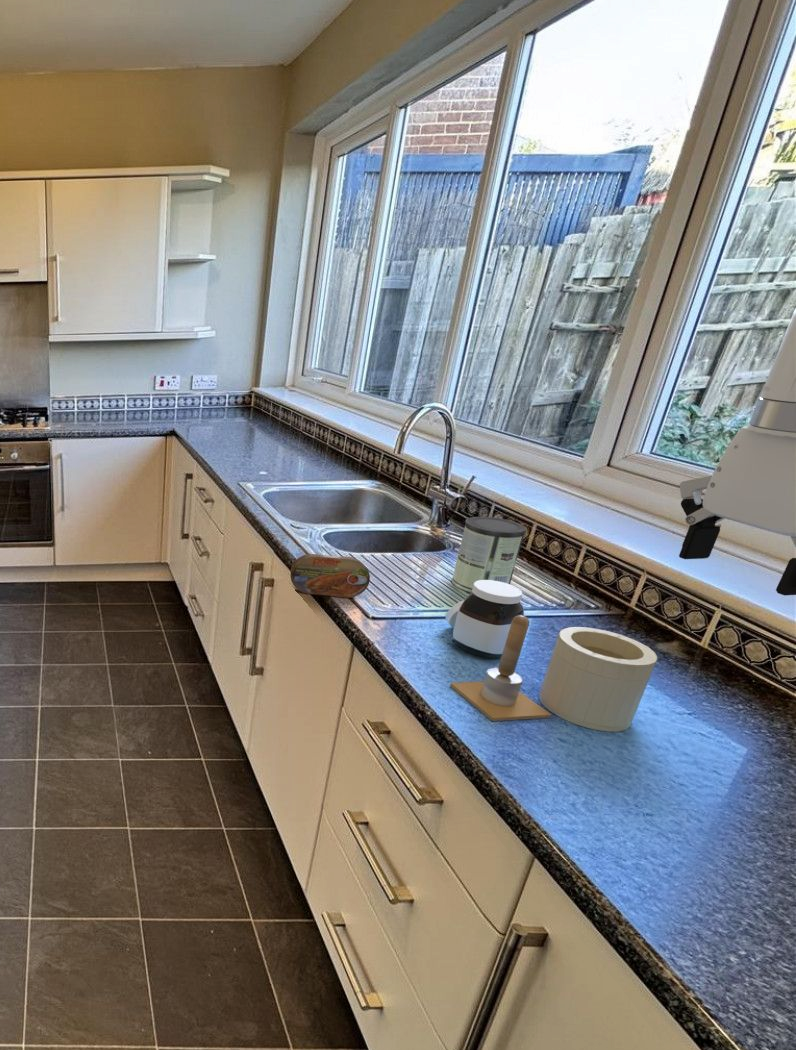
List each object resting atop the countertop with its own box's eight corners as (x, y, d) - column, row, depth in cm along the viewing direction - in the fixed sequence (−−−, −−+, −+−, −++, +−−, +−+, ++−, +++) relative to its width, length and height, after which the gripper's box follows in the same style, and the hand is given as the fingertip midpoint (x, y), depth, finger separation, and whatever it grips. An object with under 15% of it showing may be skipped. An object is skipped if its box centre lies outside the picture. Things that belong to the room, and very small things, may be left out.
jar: (584, 686, 97) (606, 625, 93) (651, 729, 87) (679, 662, 83) (521, 690, 96) (540, 628, 92) (581, 734, 86) (606, 666, 82)
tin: (288, 591, 130) (293, 555, 127) (287, 585, 133) (292, 549, 130) (366, 600, 126) (373, 562, 123) (363, 594, 129) (371, 557, 126)
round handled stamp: (500, 688, 96) (524, 608, 91) (522, 705, 92) (549, 622, 87) (473, 690, 95) (496, 609, 90) (494, 707, 91) (520, 624, 86)
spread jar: (488, 665, 103) (506, 603, 99) (422, 636, 112) (436, 578, 108) (526, 647, 108) (545, 587, 104) (460, 621, 117) (475, 564, 113)
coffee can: (466, 572, 138) (482, 513, 133) (517, 589, 130) (536, 526, 125) (440, 582, 134) (455, 521, 128) (492, 600, 125) (510, 535, 120)
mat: (503, 682, 98) (504, 679, 98) (550, 717, 90) (551, 714, 90) (449, 686, 98) (450, 682, 97) (492, 721, 89) (493, 718, 89)
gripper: (966, 435, 54) (873, 608, 60) (743, 406, 70) (688, 545, 76) (889, 437, 54) (803, 612, 60) (683, 407, 70) (632, 547, 76)
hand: (739, 574), depth 68 cm, fingers open, 9 cm apart
